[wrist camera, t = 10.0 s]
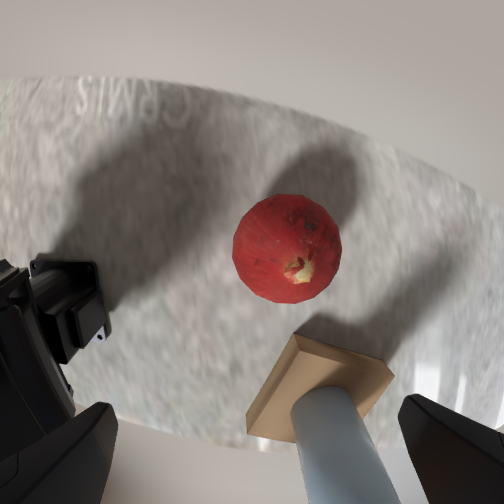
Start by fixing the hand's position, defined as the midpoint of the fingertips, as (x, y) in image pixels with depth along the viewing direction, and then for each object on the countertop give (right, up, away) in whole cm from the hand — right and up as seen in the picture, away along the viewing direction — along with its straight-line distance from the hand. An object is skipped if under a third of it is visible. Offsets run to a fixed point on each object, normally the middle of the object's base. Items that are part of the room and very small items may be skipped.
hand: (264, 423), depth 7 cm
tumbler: (+5, -7, +13) cm, 16 cm away
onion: (+1, +6, +12) cm, 14 cm away
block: (+5, -7, +15) cm, 17 cm away
